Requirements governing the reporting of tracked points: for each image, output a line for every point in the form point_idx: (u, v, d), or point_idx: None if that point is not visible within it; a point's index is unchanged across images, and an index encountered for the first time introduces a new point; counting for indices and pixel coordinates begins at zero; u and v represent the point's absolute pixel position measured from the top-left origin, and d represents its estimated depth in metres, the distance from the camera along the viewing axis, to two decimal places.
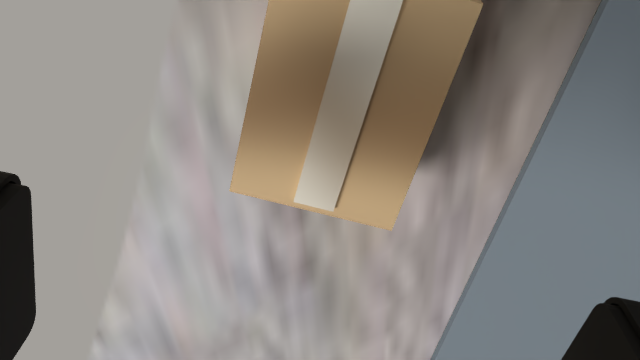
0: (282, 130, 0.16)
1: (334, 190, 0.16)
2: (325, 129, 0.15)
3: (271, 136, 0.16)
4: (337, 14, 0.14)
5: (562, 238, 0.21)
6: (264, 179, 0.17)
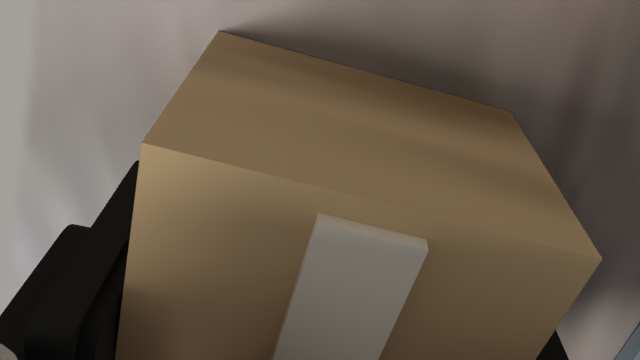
0: None
1: None
2: None
3: None
4: (281, 269, 0.06)
5: None
6: None
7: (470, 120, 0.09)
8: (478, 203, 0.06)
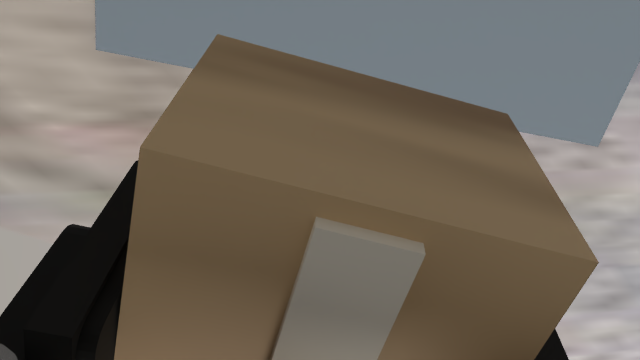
0: None
1: None
2: None
3: None
4: (280, 273, 0.06)
5: (381, 48, 0.23)
6: None
7: (468, 123, 0.09)
8: (476, 208, 0.07)
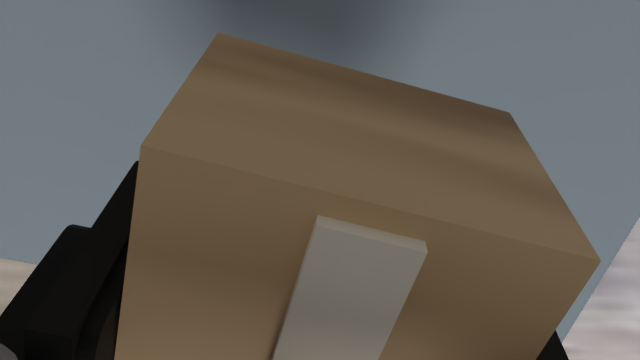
0: None
1: None
2: None
3: None
4: (280, 271, 0.06)
5: None
6: None
7: (470, 122, 0.09)
8: (477, 206, 0.06)
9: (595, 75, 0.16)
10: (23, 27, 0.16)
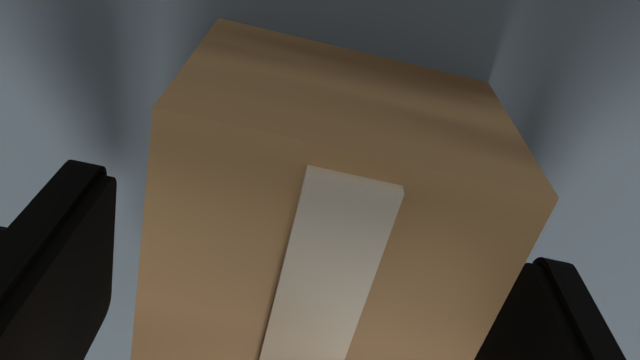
0: None
1: None
2: None
3: None
4: (278, 219, 0.07)
5: None
6: None
7: (450, 90, 0.10)
8: (449, 155, 0.07)
9: None
10: None
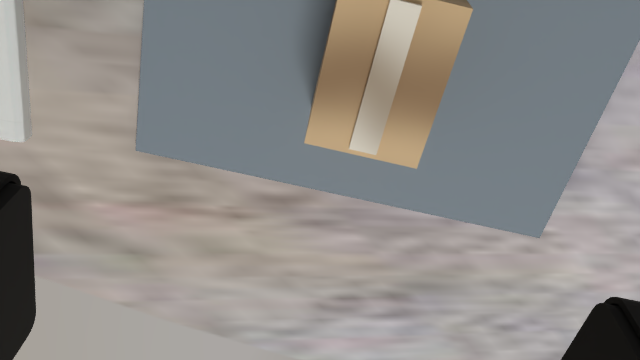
0: (341, 98, 0.23)
1: (377, 139, 0.24)
2: (371, 96, 0.23)
3: (334, 102, 0.23)
4: (379, 18, 0.22)
5: (364, 158, 0.29)
6: (328, 133, 0.24)
7: None
8: None
9: (560, 31, 0.25)
10: (208, 1, 0.26)
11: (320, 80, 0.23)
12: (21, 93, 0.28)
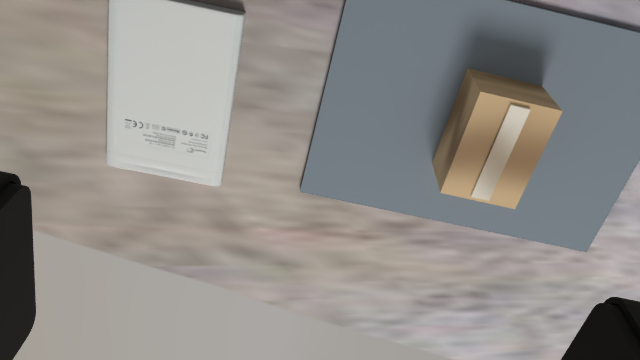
0: (470, 164, 0.35)
1: (490, 190, 0.36)
2: (490, 163, 0.35)
3: (464, 167, 0.35)
4: (501, 116, 0.33)
5: None
6: (457, 186, 0.36)
7: (533, 88, 0.36)
8: (538, 102, 0.33)
9: (609, 114, 0.37)
10: (368, 93, 0.37)
11: (457, 153, 0.35)
12: (224, 153, 0.39)
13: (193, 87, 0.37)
